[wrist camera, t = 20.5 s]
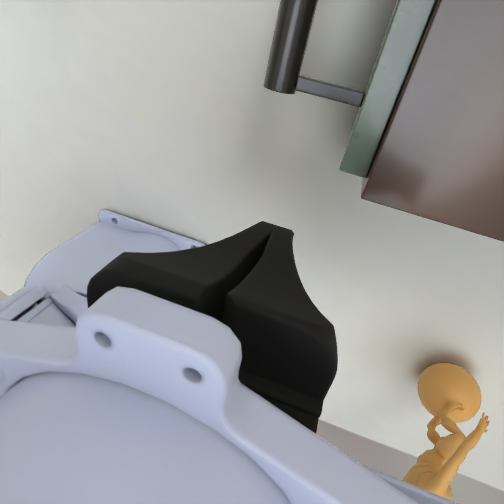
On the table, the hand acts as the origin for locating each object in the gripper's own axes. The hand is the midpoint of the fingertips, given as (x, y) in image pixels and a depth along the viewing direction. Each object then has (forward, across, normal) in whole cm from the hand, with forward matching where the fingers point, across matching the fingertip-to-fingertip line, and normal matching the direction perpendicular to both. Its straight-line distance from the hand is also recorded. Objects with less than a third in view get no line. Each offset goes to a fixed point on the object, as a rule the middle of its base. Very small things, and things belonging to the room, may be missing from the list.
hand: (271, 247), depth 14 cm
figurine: (+11, -13, +12) cm, 21 cm away
